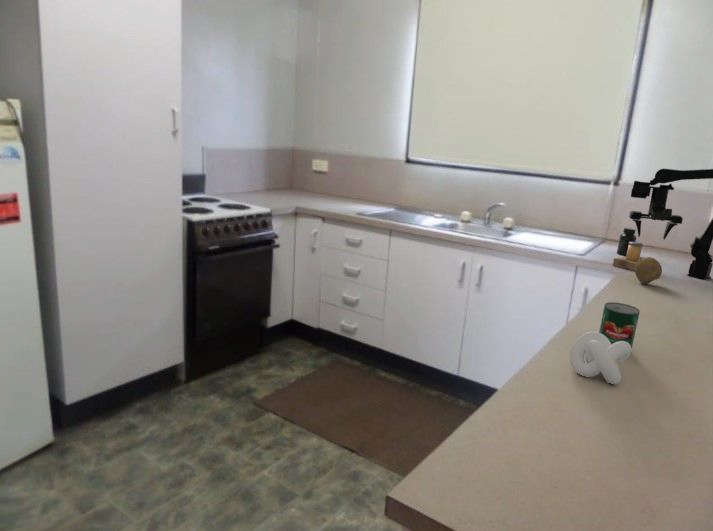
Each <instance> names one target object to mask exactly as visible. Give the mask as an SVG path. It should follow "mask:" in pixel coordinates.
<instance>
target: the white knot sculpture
mask: <svg viewBox="0 0 713 531" xmlns="http://www.w3.org/2000/svg"><path fill="white" fill-rule="evenodd" d="M632 350H633V347H632V348H631V345H630V344H629V343H628V342H625V341H619V342H615V343H613V344H612V345H611V343H610V341H609V340H608V338H607V337H606V336H604V335H603V334H601V333H599V331H594V330H593V331H587V332H584V333H583V334H581V335H580V336H578V337H577V338H576V340H575V341H574V343H573V345H572V347H571V349H570V353H569V363H570V366H571V368H572V370H573V371H574V372H575V373H576V374H577V373H578V374H577V375H579V374H581V375H583V376H589V377H588V378H593V377H595V376H598V375H600V374H602V376H603V378H604V380H605V381H606V383H608V384H609V383H611V384H616V385H618V384H619V383H620V382H621V379H622V377H621V373H620V368H619V366H620V365H622V364H623V363H624V362H625V361H627V360H628V358H629V357H630V355H631V354H632ZM583 376H582V377H583ZM611 384H610V385H611Z"/></svg>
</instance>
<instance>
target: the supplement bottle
mask: <svg viewBox="0 0 713 531" xmlns="http://www.w3.org/2000/svg"><path fill="white" fill-rule="evenodd" d="M636 231H637V229H634V228H630V227H625V228H623V233H622V234H620V236H619V240H618V245H617V251H616V254H618V255H620V256H623V257H626V255H627V250H628V245H629V242H637V236H636V235H635V234H636Z"/></svg>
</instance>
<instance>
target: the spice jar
mask: <svg viewBox="0 0 713 531" xmlns="http://www.w3.org/2000/svg"><path fill="white" fill-rule="evenodd" d="M643 246H644V243H641V242H638V241H636V242H629V245H628V250H627V255H626V256H625V257H626V260H629V261H634V262H637V261H638V260H640V259H641V254H642V248H643Z"/></svg>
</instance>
